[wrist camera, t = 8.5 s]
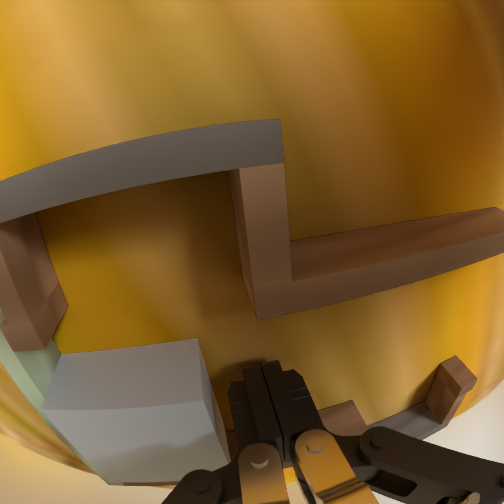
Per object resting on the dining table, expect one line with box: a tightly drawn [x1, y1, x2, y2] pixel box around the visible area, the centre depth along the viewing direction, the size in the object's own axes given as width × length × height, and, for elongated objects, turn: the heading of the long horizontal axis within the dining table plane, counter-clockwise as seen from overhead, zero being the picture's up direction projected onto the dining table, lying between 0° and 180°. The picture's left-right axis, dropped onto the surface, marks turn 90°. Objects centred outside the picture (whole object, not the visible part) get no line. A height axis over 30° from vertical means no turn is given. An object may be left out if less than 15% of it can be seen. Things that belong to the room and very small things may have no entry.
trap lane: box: [0, 119, 504, 486], centre depth 11 cm, size 19×22×2 cm
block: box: [41, 338, 231, 482], centre depth 11 cm, size 6×6×4 cm
